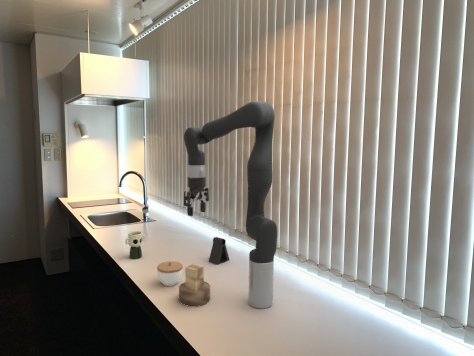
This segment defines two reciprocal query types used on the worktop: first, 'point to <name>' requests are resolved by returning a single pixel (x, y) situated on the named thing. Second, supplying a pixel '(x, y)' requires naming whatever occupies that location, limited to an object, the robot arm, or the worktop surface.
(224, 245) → the phone stand
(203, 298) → the walnut plinth
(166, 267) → the lidded jar
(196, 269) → the oak block
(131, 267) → the worktop surface
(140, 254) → the character mug
